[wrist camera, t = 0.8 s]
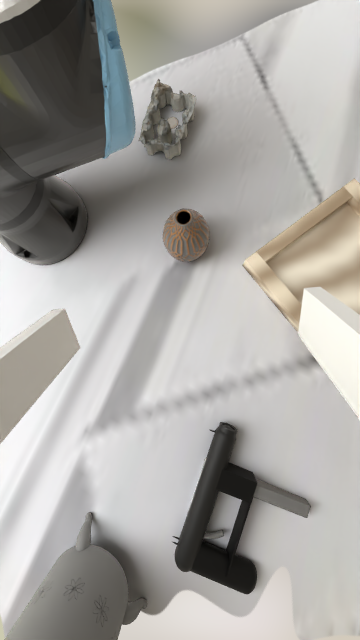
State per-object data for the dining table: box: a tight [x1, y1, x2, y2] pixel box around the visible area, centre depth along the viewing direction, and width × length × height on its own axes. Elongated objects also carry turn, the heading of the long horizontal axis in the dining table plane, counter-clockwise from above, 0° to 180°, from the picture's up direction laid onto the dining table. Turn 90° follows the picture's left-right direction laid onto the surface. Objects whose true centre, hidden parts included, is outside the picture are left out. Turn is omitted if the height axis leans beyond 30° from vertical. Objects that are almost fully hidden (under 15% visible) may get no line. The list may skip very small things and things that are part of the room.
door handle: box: [171, 422, 311, 594], centre depth 31 cm, size 3×20×16 cm
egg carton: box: [139, 79, 196, 160], centre depth 38 cm, size 11×8×4 cm
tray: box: [242, 178, 360, 332], centre depth 33 cm, size 20×20×2 cm
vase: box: [163, 209, 210, 262], centre depth 33 cm, size 7×7×9 cm
